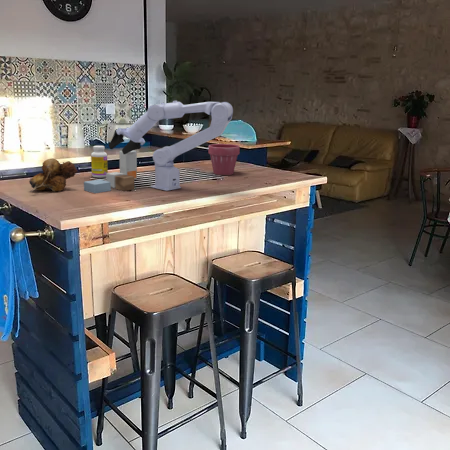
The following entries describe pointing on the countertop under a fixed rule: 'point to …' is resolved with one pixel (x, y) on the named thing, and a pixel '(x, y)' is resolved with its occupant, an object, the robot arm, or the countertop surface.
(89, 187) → the base block
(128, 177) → the walnut block
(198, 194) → the countertop surface
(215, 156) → the plant pot
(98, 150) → the supplement bottle
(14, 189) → the countertop surface
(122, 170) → the skincare box
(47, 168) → the seed pod
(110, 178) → the grey block
